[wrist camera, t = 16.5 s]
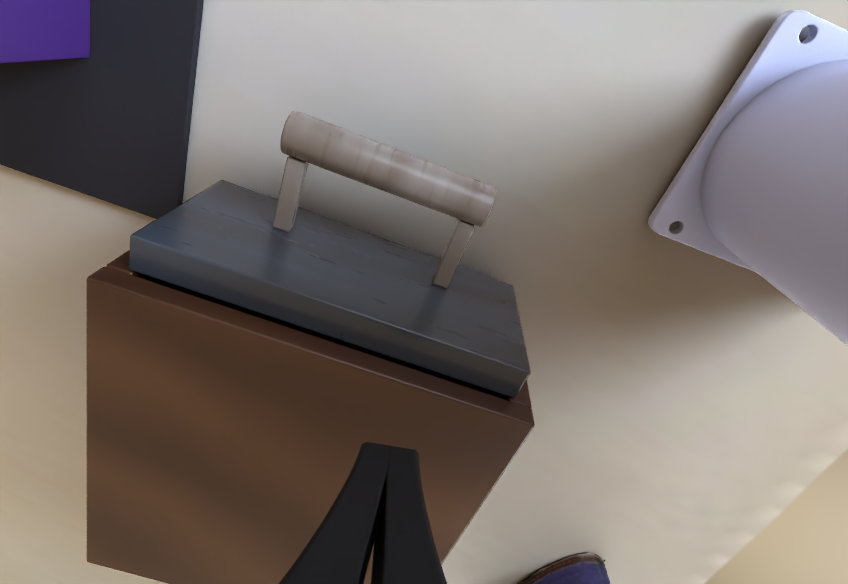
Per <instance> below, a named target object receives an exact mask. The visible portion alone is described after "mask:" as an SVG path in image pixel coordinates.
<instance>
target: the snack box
mask: <svg viewBox="0 0 848 584" xmlns="http://www.w3.org/2000/svg"><path fill="white" fill-rule="evenodd" d="M89 57H90V0H0V63H13V62H29V61H44V60H59V59H75V58H89Z"/></svg>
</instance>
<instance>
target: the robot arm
mask: <svg viewBox="0 0 848 584" xmlns="http://www.w3.org/2000/svg"><path fill="white" fill-rule="evenodd" d="M805 26H807V27H808V28H809V34H808V36H807V38H806V39H805V40H804V41H803V42H800V41H799V34H800V31H801V30H802V29H803V28H804V27H805ZM675 221H679V222H680V223H679V226H678V227H677V228H676V229H674V230H669V227H670V225H671V224H672V223H673V222H675ZM649 226H650V228H651V229H652V230H653V231H654V232H655V233H657V234H659V235H662V236H664V237H667V238H669V239H672V240H675V241H677V242H680V243H682V244H685V245H687V246H690V247H693V248H695V249H698V250H700V251H703V252H705V253H708V254H710V255H713V256H716V257H718V258H721V259H723V260H726V261H728V262H731V263H734V264H736V265H739V266H741V267H744V268H746V269H749V270H752V271H754V272H757V273H758V274H759V275H761V276H762V277H763V278H764V279H766V280H767V281H768V282H769V283H771V284H772V285H773V286H774V287H775V288H777V289H778V290H779V291H780V292H782V293H783V294H784V295H785V296H787V297H788V298H789V299H790V300H792V301H793V302H794V303H795V304H796V305H798V306H799V307H800V308H801V309H803V310H804V311H805V312H806V313H808V314H809V315H810V316H811V317H812V318H814V319H815V320H816V321H817V322H819V323H820V324H821V325H822V326H824V327H825V328H826V329H827V330H829V331H830V332H831V333H832V334H833V335H835V336H836V337H837V338H838V339H840V340H841V341H842V342H843V343H845V344H846V345H847V346H848V30H846V29H843V28H841V27H839V26H837V25H835V24H833V23H830V22H828V21H826V20H824V19H822V18H820V17H818V16H815V15H813V14H811V13H809V12H807V11H804V10H791V11H787V12H785V13H783V14H782V15H780V16H779V17H778V19H777V20H776V21H775V22H774V24H773V25H772V27H771V28H770V30H769V31H768V33H767V34H766V36H765V38H764V39H763V41H762V42H761V44H760V45H759V47H758V49H757V50H756V52H755V53H754V55H753V56H752V58H751V59H750V61H749V63H748V64H747V66H746V67H745V69H744V70H743V72H742V73H741V75H740V77H739V78H738V80H737V81H736V83H735V84H734V86H733V87H732V89H731V91H730V92H729V94H728V95H727V97H726V98H725V100H724V102H723V103H722V105H721V106H720V108H719V109H718V111H717V112H716V114H715V116H714V117H713V119H712V120H711V122H710V123H709V125H708V126H707V128H706V130H705V131H704V133H703V134H702V136H701V137H700V139H699V140H698V142H697V144H696V145H695V147H694V148H693V150H692V151H691V153H690V155H689V156H688V158H687V159H686V161H685V162H684V164H683V165H682V167H681V169H680V170H679V172H678V173H677V175H676V176H675V178H674V179H673V181H672V183H671V184H670V186H669V187H668V189H667V190H666V192H665V193H664V195H663V197H662V198H661V200H660V201H659V203H658V204H657V206H656V208H655V209H654V211H653V212H652V214H651V215H650V218H649ZM373 545H374V548H373ZM372 549H373V561H372V574H371V584H447V582H446V579H445V576H444V573H443V570H442V566H441V563H440V560H439V557H438V553H437V549H436V546H435V542H434V538H433V534H432V530H431V526H430V522H429V518H428V514H427V509H426V505H425V500H424V494H423V489H422V482H421V475H420V465H419V453H418V452H417V451H416V450H414V449H408V448H402V447H396V446H390V445H384V444H378V443H371V442H365V443H363V444H362V445H361V448H360V451H359V454H358V456H357V458H356V461H355V463H354V465H353V468H352V470H351V472H350V474H349V476H348V478H347V480H346V482H345V484H344V485H343V487H342V489H341V491H340V493H339V494H338V496H337V498H336V500H335V501H334V503H333V505H332V506H331V508H330V510H329V511H328V513H327V515H326V516H325V518H324V520H323V521H322V523H321V524H320V526H319V527H318V529H317V530H316V532H315V533H314V535H313V536H312V538H311V539H310V541H309V542H308V544H307V545H306V547H305V548H304V550H303V551H302V553H301V554H300V555H299V557H298V558H297V560H296V561H295V562H294V564H293V565H292V567H291V568H290V569H289V571H288V572H287V573H286V575H285V576H284V577H283V579H282V580H281V581H280V582H279V584H364V581H365V577H366V573H367V569H368V565H369V561H370V557H371V553H372Z"/></svg>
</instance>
